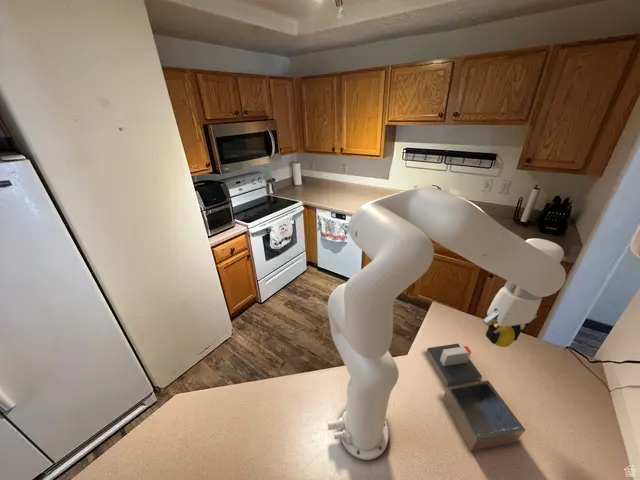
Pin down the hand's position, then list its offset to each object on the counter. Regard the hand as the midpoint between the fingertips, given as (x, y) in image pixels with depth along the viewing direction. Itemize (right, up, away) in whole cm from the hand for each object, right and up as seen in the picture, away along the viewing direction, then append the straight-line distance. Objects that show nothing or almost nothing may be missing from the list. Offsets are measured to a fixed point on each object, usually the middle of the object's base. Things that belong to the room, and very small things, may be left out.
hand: (500, 337), depth 72 cm
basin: (-8, -21, -3) cm, 23 cm away
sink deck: (-8, -14, +11) cm, 19 cm away
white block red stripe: (-8, -11, +9) cm, 17 cm away
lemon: (0, -3, +2) cm, 3 cm away
